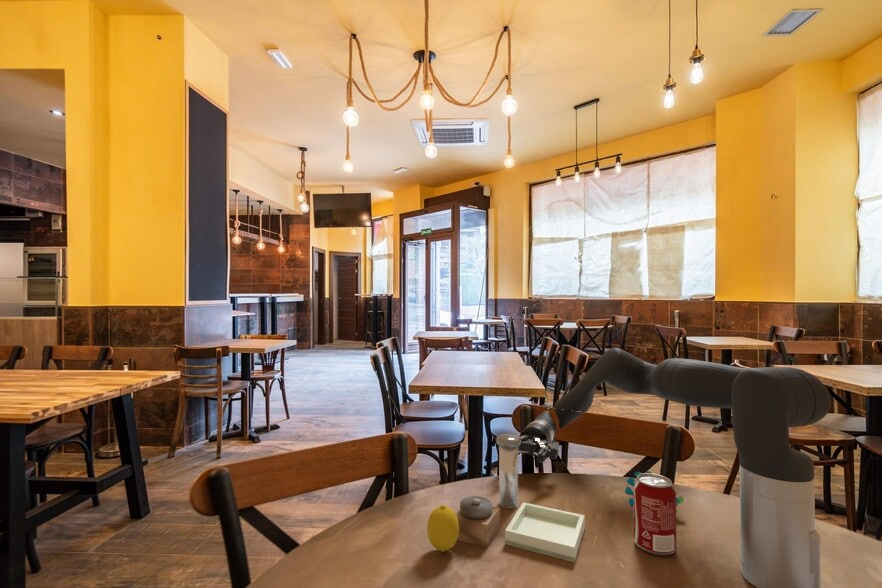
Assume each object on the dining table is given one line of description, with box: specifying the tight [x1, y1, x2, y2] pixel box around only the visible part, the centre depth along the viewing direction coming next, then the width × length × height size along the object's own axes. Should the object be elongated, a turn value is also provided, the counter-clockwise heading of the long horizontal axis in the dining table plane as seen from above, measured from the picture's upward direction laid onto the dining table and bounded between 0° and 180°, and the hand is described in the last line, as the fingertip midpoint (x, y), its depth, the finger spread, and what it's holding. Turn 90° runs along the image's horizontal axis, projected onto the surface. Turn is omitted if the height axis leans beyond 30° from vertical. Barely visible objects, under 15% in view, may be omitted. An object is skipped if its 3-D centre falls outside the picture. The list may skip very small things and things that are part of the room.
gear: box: [624, 470, 684, 513], centre depth 89 cm, size 11×6×10 cm
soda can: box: [633, 472, 677, 557], centre depth 76 cm, size 7×7×12 cm
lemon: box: [426, 504, 459, 553], centre depth 75 cm, size 6×6×8 cm
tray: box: [504, 502, 586, 563], centre depth 80 cm, size 12×12×2 cm
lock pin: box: [496, 433, 521, 510], centre depth 92 cm, size 5×5×14 cm
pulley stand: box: [454, 495, 501, 549], centre depth 80 cm, size 7×7×6 cm
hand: (521, 455), depth 101 cm, fingers open, 8 cm apart
